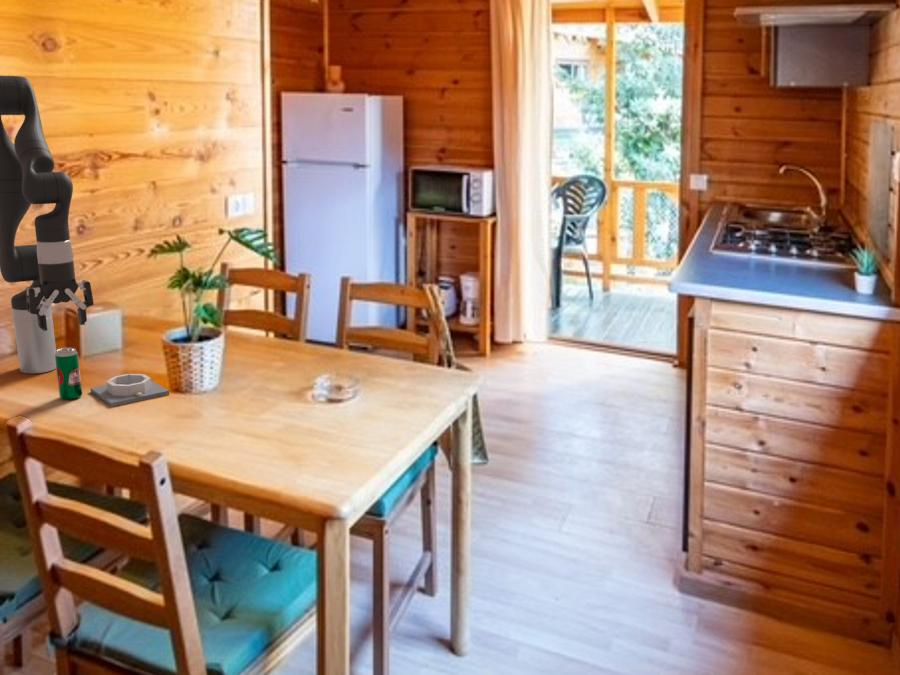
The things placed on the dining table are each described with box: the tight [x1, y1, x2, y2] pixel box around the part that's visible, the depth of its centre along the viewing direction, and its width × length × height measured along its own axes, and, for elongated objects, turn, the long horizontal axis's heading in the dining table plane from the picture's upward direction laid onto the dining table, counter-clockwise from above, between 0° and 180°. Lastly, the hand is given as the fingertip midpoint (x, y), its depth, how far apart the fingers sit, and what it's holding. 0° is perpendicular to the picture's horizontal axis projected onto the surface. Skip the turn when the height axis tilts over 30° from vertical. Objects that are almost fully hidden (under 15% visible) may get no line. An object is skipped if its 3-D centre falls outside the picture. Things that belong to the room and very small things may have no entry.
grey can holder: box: [90, 373, 170, 408], centre depth 210 cm, size 14×14×4 cm
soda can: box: [55, 347, 83, 401], centre depth 206 cm, size 5×5×12 cm
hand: (63, 327), depth 203 cm, fingers open, 8 cm apart
